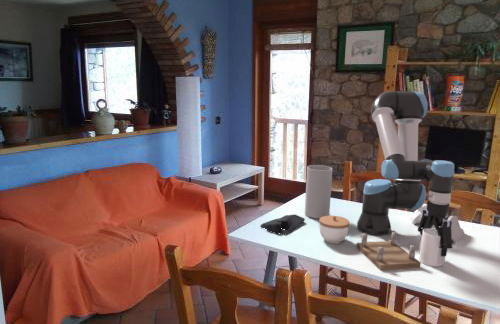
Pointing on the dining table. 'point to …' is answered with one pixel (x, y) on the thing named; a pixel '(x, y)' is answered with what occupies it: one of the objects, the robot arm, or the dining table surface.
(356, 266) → the dining table surface
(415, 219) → the bust
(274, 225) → the dark slate chunk
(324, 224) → the lidded bowl
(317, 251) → the dining table surface
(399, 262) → the peg board
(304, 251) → the dining table surface
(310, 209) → the cylinder vase
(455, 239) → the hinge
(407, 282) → the dining table surface
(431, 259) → the mug
